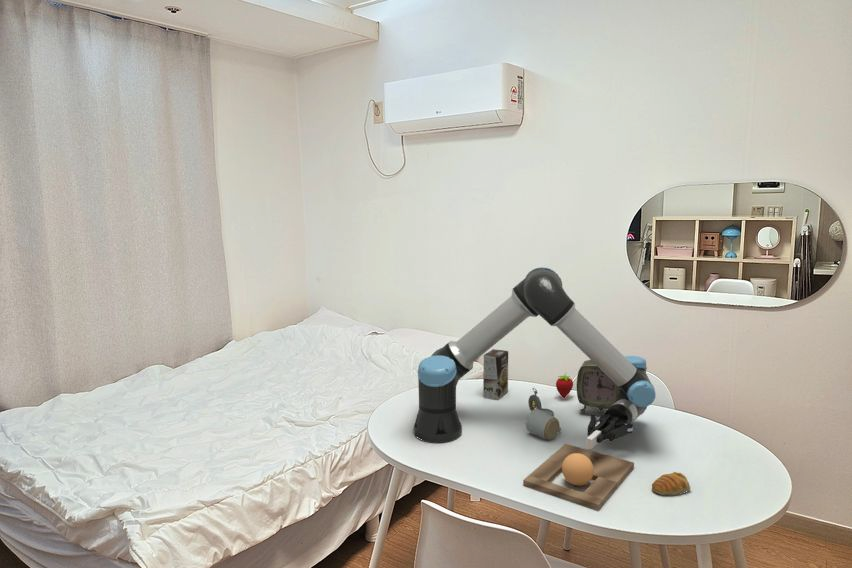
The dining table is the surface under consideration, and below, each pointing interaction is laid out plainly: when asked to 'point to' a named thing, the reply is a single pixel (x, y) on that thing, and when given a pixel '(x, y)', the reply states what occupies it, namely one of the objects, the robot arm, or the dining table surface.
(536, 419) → the ceramic mug
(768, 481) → the dining table surface
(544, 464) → the hole board
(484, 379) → the coffee box
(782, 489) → the dining table surface
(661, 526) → the dining table surface
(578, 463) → the ball
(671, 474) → the pastry
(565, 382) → the strawberry
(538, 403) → the pocket watch
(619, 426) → the robot arm
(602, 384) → the tabletop clock
